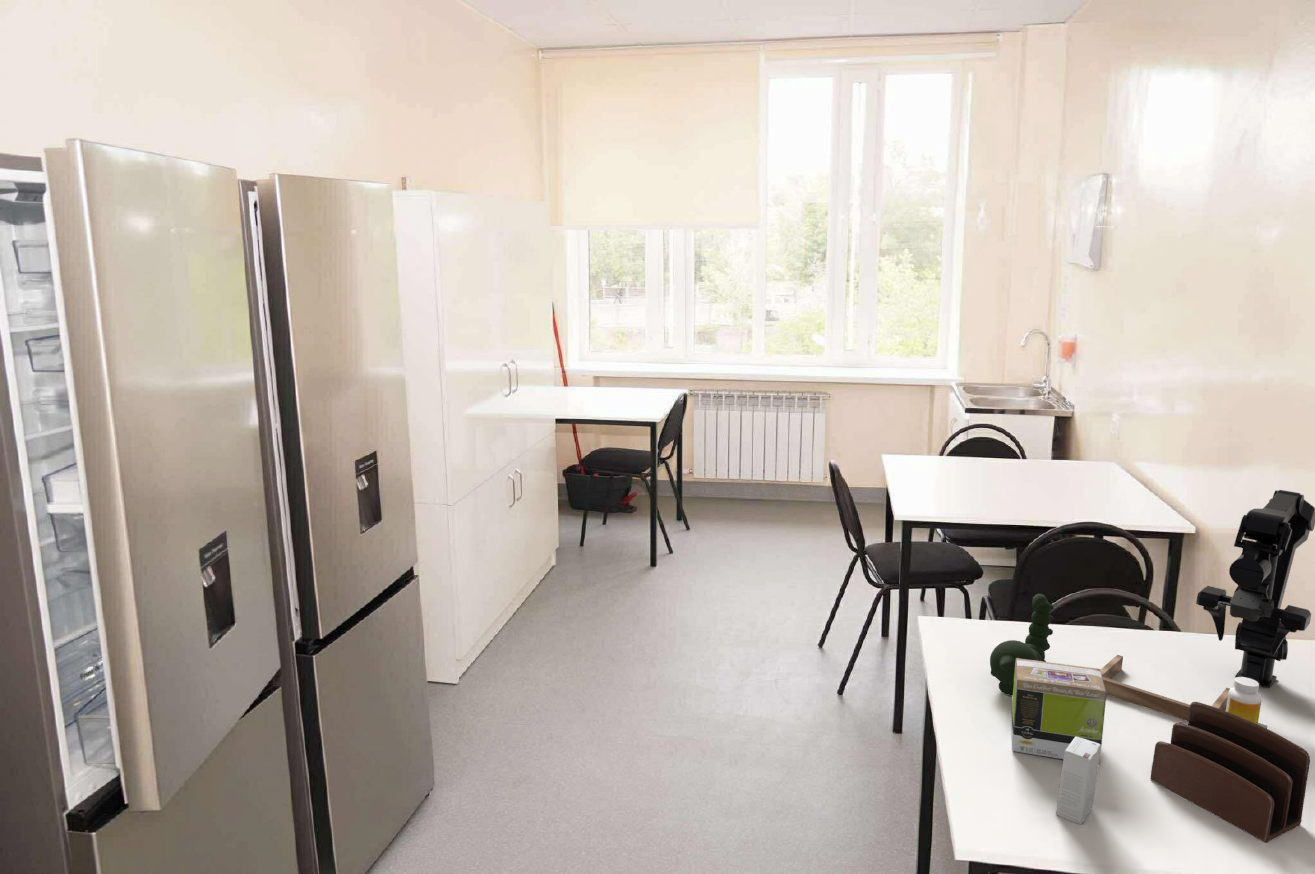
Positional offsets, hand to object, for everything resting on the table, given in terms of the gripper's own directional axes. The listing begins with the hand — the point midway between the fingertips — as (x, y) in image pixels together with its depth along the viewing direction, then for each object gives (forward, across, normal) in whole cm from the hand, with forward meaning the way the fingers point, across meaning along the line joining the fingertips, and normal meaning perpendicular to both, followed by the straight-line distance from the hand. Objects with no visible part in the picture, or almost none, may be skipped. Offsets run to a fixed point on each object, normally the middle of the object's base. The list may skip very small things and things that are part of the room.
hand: (1246, 646), depth 187 cm
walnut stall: (+12, -12, -10) cm, 19 cm away
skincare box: (+12, -9, -62) cm, 64 cm away
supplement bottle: (+11, +4, -14) cm, 18 cm away
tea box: (+12, -20, -44) cm, 50 cm away
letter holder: (+12, +7, -41) cm, 43 cm away
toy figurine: (+12, -35, -24) cm, 44 cm away
